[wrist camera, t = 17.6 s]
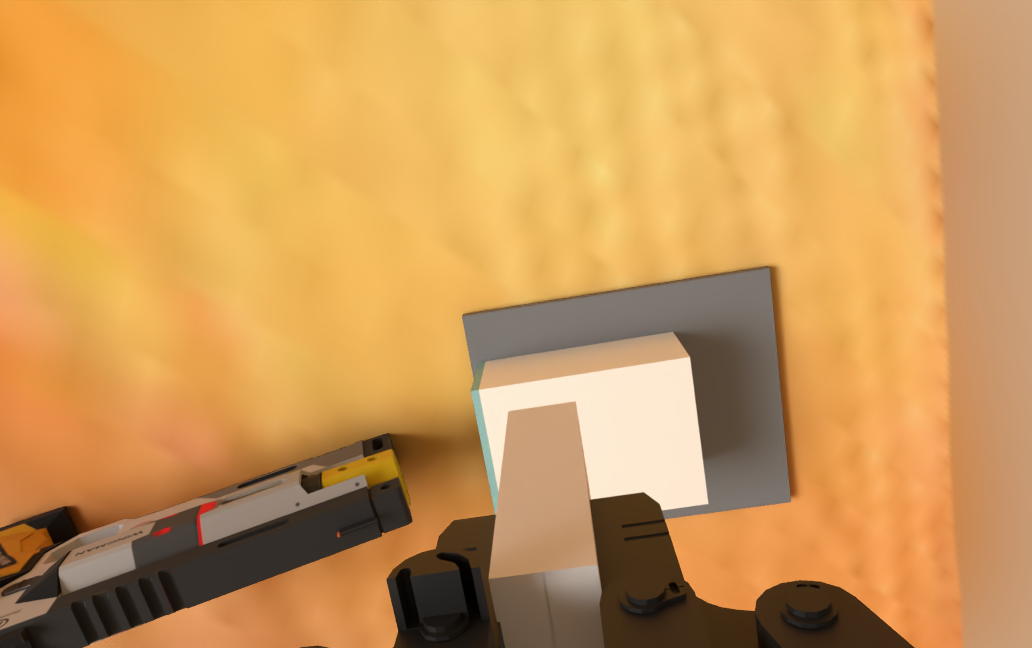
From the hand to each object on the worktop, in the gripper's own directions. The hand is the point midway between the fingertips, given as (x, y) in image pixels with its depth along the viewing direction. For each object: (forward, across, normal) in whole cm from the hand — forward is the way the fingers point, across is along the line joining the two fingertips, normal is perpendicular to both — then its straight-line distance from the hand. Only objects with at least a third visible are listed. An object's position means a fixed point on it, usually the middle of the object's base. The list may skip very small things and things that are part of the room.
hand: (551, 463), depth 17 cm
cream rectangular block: (+23, +6, -9) cm, 26 cm away
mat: (+26, +4, -9) cm, 28 cm away
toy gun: (+27, -23, -11) cm, 37 cm away
